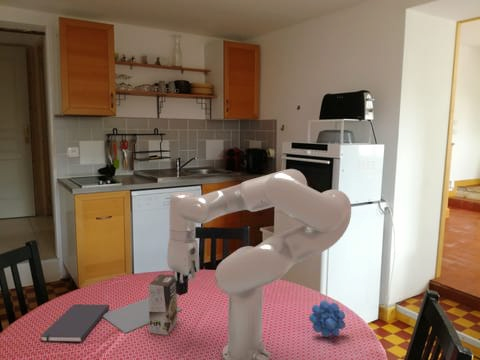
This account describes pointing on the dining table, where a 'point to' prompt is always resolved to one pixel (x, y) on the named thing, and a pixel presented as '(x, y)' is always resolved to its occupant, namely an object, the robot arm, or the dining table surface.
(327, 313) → the grapes
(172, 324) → the coffee box
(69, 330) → the notebook
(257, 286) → the robot arm
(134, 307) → the mat
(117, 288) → the dining table surface
